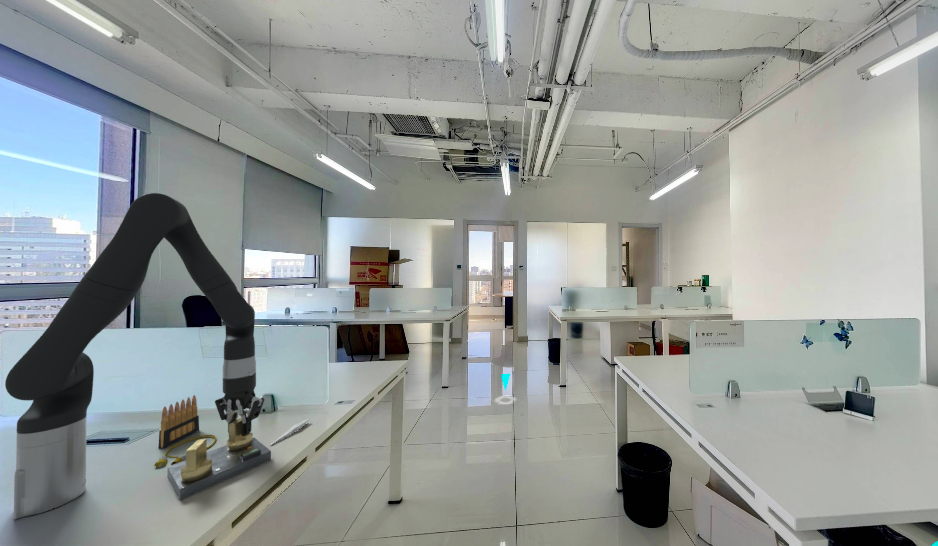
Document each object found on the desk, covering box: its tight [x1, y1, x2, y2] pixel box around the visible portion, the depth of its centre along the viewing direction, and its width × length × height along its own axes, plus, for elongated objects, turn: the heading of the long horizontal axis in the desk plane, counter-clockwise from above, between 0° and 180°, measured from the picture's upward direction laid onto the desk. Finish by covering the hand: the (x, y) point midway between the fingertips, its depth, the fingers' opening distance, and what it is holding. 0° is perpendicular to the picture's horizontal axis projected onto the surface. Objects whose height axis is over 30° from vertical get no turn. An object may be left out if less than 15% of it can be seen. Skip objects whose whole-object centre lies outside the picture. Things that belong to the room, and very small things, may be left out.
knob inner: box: [180, 438, 212, 482], centre depth 72 cm, size 6×6×7 cm
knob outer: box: [226, 415, 253, 451], centre depth 84 cm, size 6×6×7 cm
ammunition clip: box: [158, 394, 200, 449], centre depth 93 cm, size 11×2×12 cm, turn 176°
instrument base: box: [167, 435, 272, 501], centre depth 78 cm, size 18×14×4 cm
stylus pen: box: [269, 418, 310, 447], centre depth 95 cm, size 15×3×2 cm, turn 165°
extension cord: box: [153, 434, 217, 469], centre depth 86 cm, size 12×16×2 cm
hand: (239, 434), depth 84 cm, fingers open, 3 cm apart
